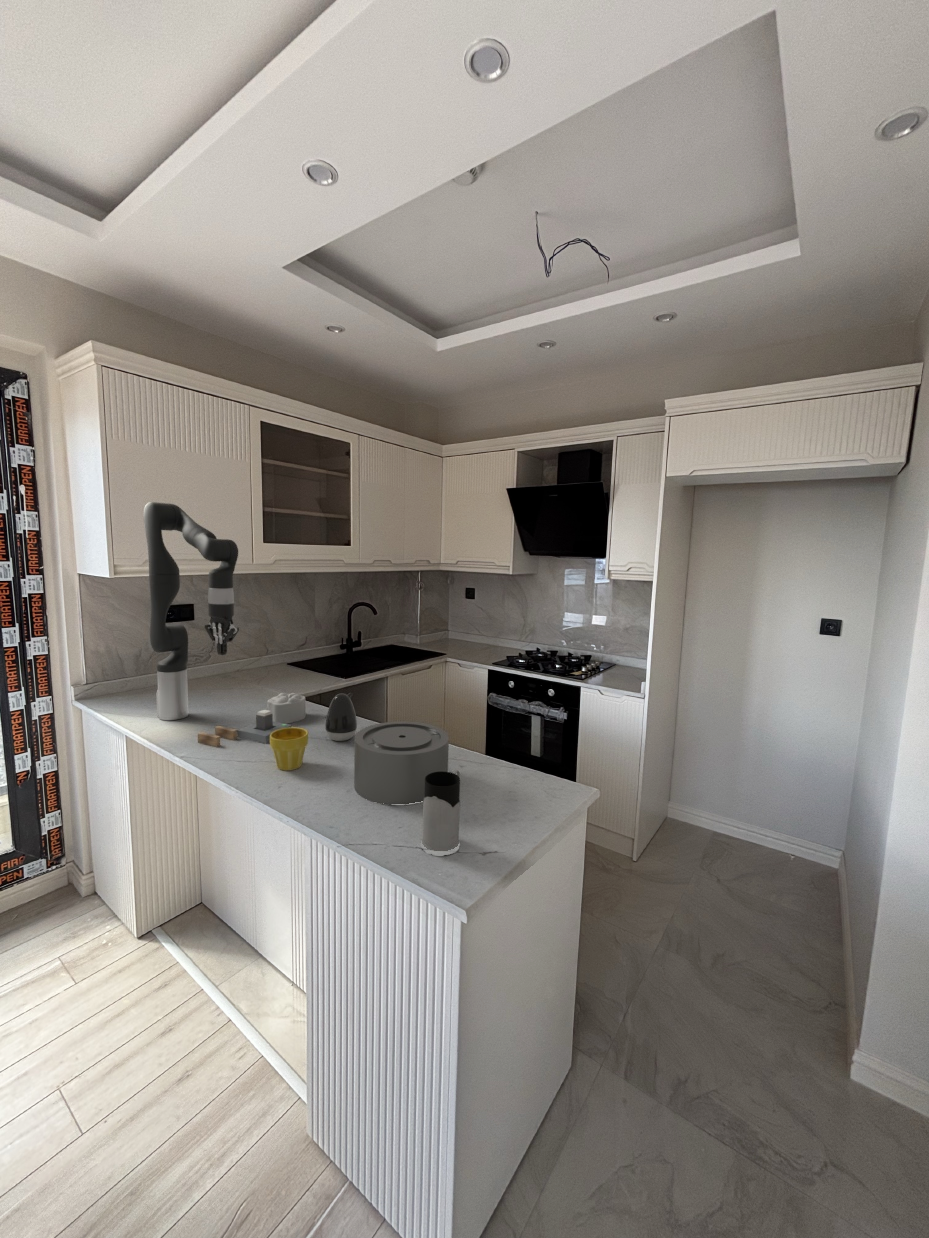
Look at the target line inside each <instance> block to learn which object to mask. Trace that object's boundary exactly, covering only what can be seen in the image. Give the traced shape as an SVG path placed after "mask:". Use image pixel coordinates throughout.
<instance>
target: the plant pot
mask: <svg viewBox="0 0 929 1238" xmlns="http://www.w3.org/2000/svg"><path fill="white" fill-rule="evenodd" d="M308 744H309V732H308V730H307V729H305V728H302V727H295V726H294V727H293V726H292V727H289V728H282V729H278V730H275V731H273V732H272V733H271V734H270V742H269V747H270V748H271V749H272V751H273V755H274V759H275V764H276V767H277V769H278V770H281V771H293V770H296V769H299V768H301V766H302V763H303V761H304V754H305V750H306V746H308Z"/></svg>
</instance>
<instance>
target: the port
mask: <svg viewBox="0 0 929 1238" xmlns="http://www.w3.org/2000/svg"><path fill="white" fill-rule="evenodd" d="M292 725H293V724H290V723H287V724H284V723H279V722H274V721H273V728H271V729H269V730H267V731H262V730H258V729H256V722H253V723H251V724H249V725H247V726H244V727H241V728H238V729H236V730H237V739H238V738H239V739H243V740H246V741H247V740H248V741H250V742H251V741H253V742H255V743H256V742H257V743H261V744H268V743H270V734H271V733H272V732H273V731H275V730H278V729H282V728H289V727H293V726H292Z"/></svg>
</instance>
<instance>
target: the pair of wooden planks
mask: <svg viewBox="0 0 929 1238" xmlns="http://www.w3.org/2000/svg"><path fill="white" fill-rule="evenodd" d="M237 730H238V729H234V728H230V727H225V726H220V725H217V726H215V727H214V734H212V733H207V732H202V731H201V732H198V733H197V743H198V744H201V745H202V744H203V745H206V746H209V747H215V748H217V747H220V746H221V738H222V739H226V740H230V741H235V740H237V739H238V737H237Z"/></svg>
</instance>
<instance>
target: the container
mask: <svg viewBox="0 0 929 1238" xmlns="http://www.w3.org/2000/svg"><path fill="white" fill-rule="evenodd" d="M449 741H450V736H449V733H448V732H447V731H445V730H444V729H443V728H441V727H439V726H436V725H433V724H430V723H426V722H420V721H409V720H408V721H407V720H406V721H405V720H403V721H402V720H398V721H397V720H396V721H387V722H380V723H375V724H371V725H369V726H368V725H367V726H366V727H364V728H362V729H360V730H358V731H357V733H356V734H354V747H353V748H354V749H353V750H354V751H353V753H354V759H353V760H354V761H353V762H354V767H353V769H354V771H353V773H354V774H353V779H354V780H353V788H354V791H355V792H356V794H357V795H358V796H359V797H361V798H363V799H364V800H366V799H367V801H369V802H372V803H374V802H377V803H376V804H378V803H382V804H381V805H384V804H409V803H415V802H421V801H423V798H424V792H425V777H426V776H427V775H428V774H430V773H433V772H440V771H442V772H449V747H450V746H449V745H450V742H449ZM383 803H384V804H383Z"/></svg>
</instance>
